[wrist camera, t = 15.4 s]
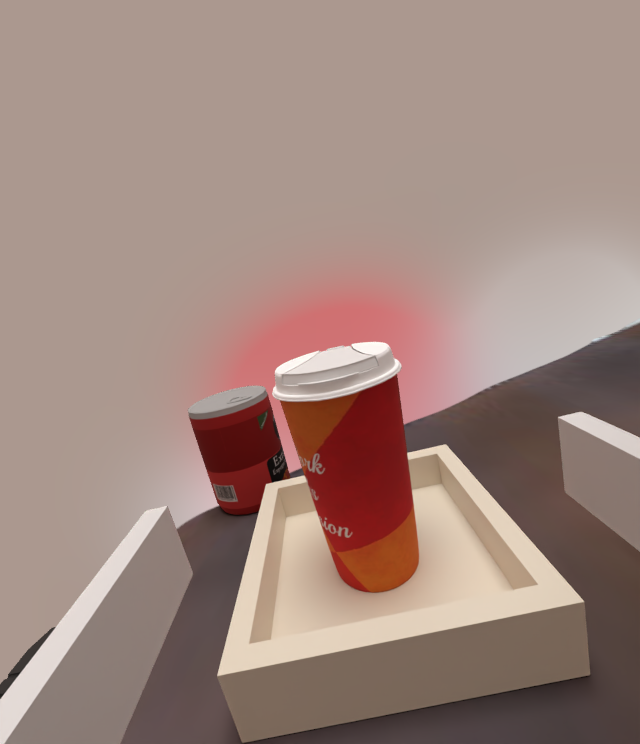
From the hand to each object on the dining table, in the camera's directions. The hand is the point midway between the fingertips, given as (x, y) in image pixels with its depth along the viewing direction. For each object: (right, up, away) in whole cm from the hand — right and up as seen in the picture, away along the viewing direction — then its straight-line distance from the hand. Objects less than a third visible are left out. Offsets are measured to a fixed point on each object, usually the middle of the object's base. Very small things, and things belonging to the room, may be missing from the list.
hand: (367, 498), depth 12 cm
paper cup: (+2, -8, +12) cm, 15 cm away
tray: (+3, -9, +12) cm, 16 cm away
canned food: (-8, -9, +26) cm, 29 cm away
